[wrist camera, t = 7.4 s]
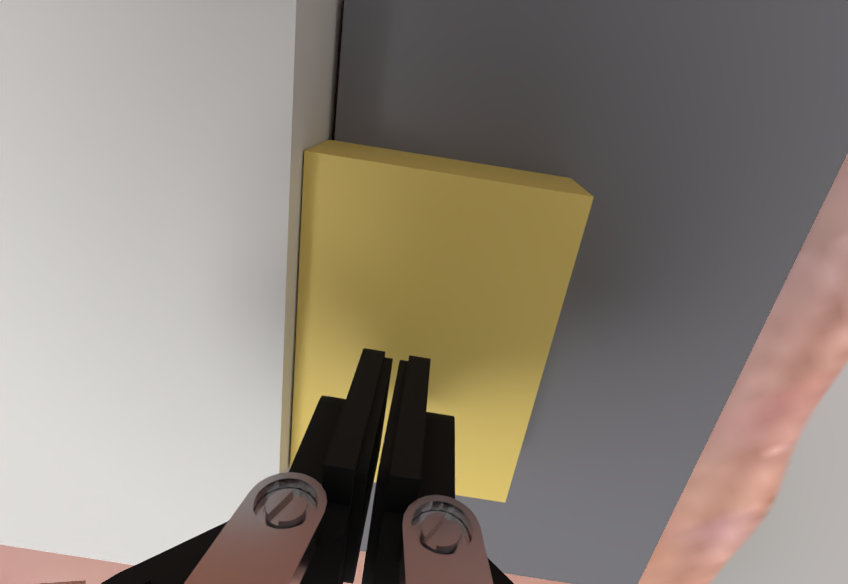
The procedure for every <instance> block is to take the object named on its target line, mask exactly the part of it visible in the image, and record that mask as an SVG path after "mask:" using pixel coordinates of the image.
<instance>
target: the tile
mask: <svg viewBox="0 0 848 584" xmlns="http://www.w3.org/2000/svg"><path fill="white" fill-rule="evenodd" d="M593 198H594V197H593V196H592V195H591V194H590V193H589V192H587V191H586V190H585V189H584V188H582V187H581V186H580V185H579V184H578V183H576V182H575V181H574V180H573V179H571V178H568V177H561V176H555V175H549V174H543V173H536V172H530V171H524V170H517V169H511V168H505V167H499V166H492V165H486V164H480V163H473V162H467V161H461V160H455V159H448V158H442V157H436V156H429V155H423V154H417V153H411V152H404V151H398V150H392V149H385V148H379V147H373V146H366V145H360V144H354V143H348V142H341V141H335V140H327V141H325V142H323V143H320V144H318V145H316V146H314V147H312V148H309V149H307V150H305V151H304V168H303V191H302V213H301V235H300V257H299V279H298V301H297V323H296V346H295V368H294V390H293V412H292V434H291V456H290V468H291V465H292V463H293V461H294V458H295V456H296V453H297V451H298V449H299V446H300V444H301V442H302V439H303V437H304V435H305V432H306V430H307V428H308V425H309V423H310V420H311V418H312V416H313V413H314V411H315V409H316V406H317V404H318V402H319V400H320V398H321V396H322V395H323V396H330V397H336V398H342V399H346V398H347V395H348V392H349V389H350V386H351V383H352V380H353V377H354V374H355V371H356V368H357V366H358V363H359V360H360V357H361V354H362V351H363V348H366V349H373V350H379V351H385V357H386V358H392V359H393V362H392V369H391V376H390V383H389V390H388V397H387V404H386V411H385V418H384V425H383V432H382V439H381V446H380V452H379V458H378V463H377V468H376V473H375V478H374V482H375V483H376V481H377V475H378V469H379V463H380V458H381V453H382V448H383V443H384V438H385V432H386V427H387V422H388V417H389V412H390V407H391V402H392V397H393V392H394V386H395V381H396V376H397V371H398V366H399V361H400V360H405V361H408V360H409V355H411V356H417V357H423V358H430V359H431V361H430V373H429V385H428V397H427V409H426V412H431V413H438V414H444V415H450V416H454V417H455V495H459V496H466V497H472V498H478V499H485V500H491V501H498V502H504V503H505V502H506V498H507V495H508V492H509V488H510V485H511V481H512V478H513V474H514V471H515V467H516V464H517V460H518V457H519V454H520V450H521V447H522V443H523V440H524V436H525V433H526V429H527V426H528V422H529V419H530V416H531V412H532V409H533V405H534V402H535V398H536V395H537V391H538V388H539V385H540V381H541V378H542V374H543V371H544V367H545V364H546V360H547V357H548V353H549V350H550V347H551V343H552V340H553V336H554V333H555V329H556V326H557V322H558V319H559V315H560V312H561V309H562V305H563V302H564V298H565V295H566V291H567V288H568V284H569V281H570V277H571V274H572V271H573V267H574V264H575V260H576V257H577V253H578V250H579V246H580V243H581V240H582V236H583V233H584V229H585V226H586V222H587V219H588V215H589V212H590V208H591V205H592V202H593Z"/></svg>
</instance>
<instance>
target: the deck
mask: <svg viewBox="0 0 848 584" xmlns="http://www.w3.org/2000/svg"><path fill="white" fill-rule="evenodd" d="M341 5H342V0H0V545H7V546H13V547H20V548H26V549H33V550H39V551H46V552H52V553H59V554H65V555H71V556H78V557H84V558H91V559H97V560H104V561H110V562H117V563H123V564H130V565H137V564H139V563H141V562H143V561H145V560H147V559H149V558H151V557H154V556H156V555H158V554H160V553H162V552H164V551H166V550H168V549H170V548H172V547H175V546H177V545H179V544H181V543H183V542H185V541H187V540H189V539H191V538H193V537H196V536H198V535H200V534H202V533H204V532H206V531H208V530H210V529H212V528H214V527H217V526H219V525H221V524H223V523H225V522H227V521H229V520H230V518H231V517H232V515H233V514H234V513H235V511H236V510H237V508H238V507H239V506H240V504H241V503H242V501H243V500H244V499H245V497H246V496H247V494H248V493H249V492H250V491H251V489H252V488H253V487H254V486H255V485H256V484H257V483H259V482H260V481H262V480H264V479H265V478H267V477H269V476H272V475H275V474H279V473H287V472H289V470H290V456H291V434H292V412H293V390H294V368H295V346H296V323H297V301H298V279H299V257H300V235H301V213H302V191H303V168H304V151H305V150H307V149H309V148H312V147H314V146H316V145H318V144H320V143H323V142H325V141H327V140H332V135H333V120H334V106H335V91H336V77H337V62H338V48H339V33H340V19H341Z"/></svg>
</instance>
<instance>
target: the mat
mask: <svg viewBox="0 0 848 584" xmlns="http://www.w3.org/2000/svg"><path fill="white" fill-rule="evenodd" d="M334 140H335V141H341V142H348V143H354V144H360V145H366V146H373V147H379V148H385V149H392V150H398V151H404V152H411V153H417V154H423V155H429V156H436V157H442V158H448V159H455V160H461V161H467V162H473V163H480V164H486V165H492V166H499V167H505V168H511V169H517V170H524V171H530V172H536V173H543V174H549V175H555V176H561V177H568V178H571V179H573V180H574V181H575V182H576V183H578V184H579V185H580V186H581V187H582V188H584V189H585V190H586V191H587V192H589V193H590V194H591V195H592V196H593V197H594V198H593V202H592V205H591V208H590V212H589V215H588V219H587V222H586V226H585V229H584V233H583V236H582V240H581V243H580V246H579V250H578V253H577V257H576V260H575V264H574V267H573V271H572V274H571V277H570V281H569V284H568V288H567V291H566V295H565V298H564V302H563V305H562V309H561V312H560V315H559V319H558V322H557V326H556V329H555V333H554V336H553V340H552V343H551V347H550V350H549V353H548V357H547V360H546V364H545V367H544V371H543V374H542V378H541V381H540V385H539V388H538V391H537V395H536V398H535V402H534V405H533V409H532V412H531V416H530V419H529V422H528V426H527V429H526V433H525V436H524V440H523V443H522V447H521V450H520V454H519V457H518V460H517V464H516V467H515V471H514V474H513V478H512V481H511V485H510V488H509V492H508V495H507V498H506V502H505V503H504V502H498V501H491V500H485V499H478V498H472V497H466V496H459V495H455V499H456V500H458V501H460V502H461V503H463V504H464V505H465V506H467V507H468V508H469V509H470V510H471V511H472V512H473V514H474V515H475V516H476V518H477V520H478V523H479V525H480V527H481V532H482V536H483V541H484V545H485V549H486V554H487V557H488V558H489V559H490V560H491V561H492V562H493V563H494V564H495V565H496V566H497V567H498V568H499V569H500V570H501V571H502V572H503V573H508V574H514V575H521V576H527V577H533V578H540V579H546V580H553V581H559V582H566V583H572V584H638V582H639V580H640V578H641V576H642V574H643V572H644V570H645V568H646V566H647V564H648V562H649V560H650V558H651V556H652V554H653V552H654V549H655V547H656V545H657V543H658V541H659V539H660V537H661V535H662V533H663V531H664V529H665V527H666V525H667V523H668V521H669V519H670V517H671V515H672V512H673V510H674V508H675V506H676V504H677V502H678V500H679V498H680V496H681V494H682V492H683V490H684V488H685V486H686V484H687V482H688V480H689V478H690V476H691V473H692V471H693V469H694V467H695V465H696V463H697V461H698V459H699V457H700V455H701V453H702V451H703V449H704V447H705V445H706V443H707V441H708V439H709V436H710V434H711V432H712V430H713V428H714V426H715V424H716V422H717V420H718V418H719V416H720V414H721V412H722V410H723V408H724V406H725V404H726V402H727V400H728V397H729V395H730V393H731V391H732V389H733V387H734V385H735V383H736V381H737V379H738V377H739V375H740V373H741V371H742V369H743V367H744V365H745V363H746V360H747V358H748V356H749V354H750V352H751V350H752V348H753V346H754V344H755V342H756V340H757V338H758V336H759V334H760V332H761V330H762V328H763V326H764V323H765V321H766V319H767V317H768V315H769V313H770V311H771V309H772V307H773V305H774V303H775V301H776V299H777V297H778V295H779V293H780V291H781V289H782V287H783V284H784V282H785V280H786V278H787V276H788V274H789V272H790V270H791V268H792V266H793V264H794V262H795V260H796V258H797V256H798V254H799V252H800V250H801V247H802V245H803V243H804V241H805V239H806V237H807V235H808V233H809V231H810V229H811V227H812V225H813V223H814V221H815V219H816V217H817V215H818V213H819V211H820V208H821V206H822V204H823V202H824V200H825V198H826V196H827V194H828V192H829V190H830V188H831V186H832V184H833V182H834V180H835V178H836V176H837V174H838V171H839V169H840V167H841V165H842V163H843V161H844V159H845V157H846V155H847V153H848V0H344V13H343V27H342V41H341V55H340V69H339V83H338V97H337V111H336V125H335V139H334ZM375 487H376V483H375V482H374V483H373V488H372V493H371V498H370V503H369V507H368V512H367V517H366V522H365V527H364V532H363V537H362V542H361V547H360V551H366V550H367V543H368V536H369V529H370V522H371V515H372V508H373V501H374V494H375Z"/></svg>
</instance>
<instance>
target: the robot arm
mask: <svg viewBox="0 0 848 584" xmlns="http://www.w3.org/2000/svg"><path fill="white" fill-rule="evenodd" d="M430 361H431V359H430V358H423V357H417V356H411V355H409V360H408V361H405V360H400V361H399V366H398V371H397V376H396V381H395V386H394V392H393V397H392V402H391V407H390V412H389V417H388V422H387V427H386V432H385V438H384V443H383V448H382V453H381V458H380V463H379V469H378V475H377V481H376V487H375V494H374V501H373V508H372V515H371V522H370V529H369V536H368V543H367V550H366V557H365V564H364V571H363V578H362V584H514V583H513V582H512V581H511V580H510V579H509V578H508V577H507V576H506V575H505V574H504V573H503V572H502V571H501V570H500V569H499V568H498V567H497V566H496V565H495V564H494V563H493V562H492V561H491V560H490V559H489V558H488V557H487V554H486V549H485V545H484V541H483V536H482V532H481V527H480V525H479V523H478V520H477V518H476V516H475V515H474V514H473V512H472V511H471V510H470V509H469V508H468V507H467V506H465V505H464V504H463V503H461V502H460V501H458V500H456V499H455V417H454V416H450V415H444V414H438V413H431V412H426V409H427V397H428V385H429V373H430ZM392 362H393V359H392V358H386V357H385V351H379V350H373V349H366V348H363V351H362V354H361V357H360V360H359V363H358V366H357V368H356V371H355V374H354V377H353V380H352V383H351V386H350V389H349V392H348V395H347V398H346V399H342V398H336V397H330V396H323V395H322V396H321V398H320V400H319V402H318V404H317V406H316V409H315V411H314V413H313V416H312V418H311V420H310V423H309V425H308V428H307V430H306V432H305V435H304V437H303V439H302V442H301V444H300V446H299V449H298V451H297V453H296V456H295V458H294V461H293V463H292V465H291V468H290V470H289V472H287V473H279V474H275V475H272V476H269V477H267V478H265V479H264V480H262V481H260V482H259V483H257V484H256V485H255V486H254V487H253V488H252V489H251V491H250V492H249V493H248V494H247V496H246V497H245V499H244V500H243V501H242V503H241V504H240V506H239V507H238V508H237V510H236V511H235V513H234V514H233V515H232V517H231V518H230V520H229V521H227V522H225V523H223V524H221V525H219V526H217V527H214V528H212V529H210V530H208V531H206V532H204V533H202V534H200V535H198V536H196V537H193V538H191V539H189V540H187V541H185V542H183V543H181V544H179V545H177V546H175V547H172V548H170V549H168V550H166V551H164V552H162V553H160V554H158V555H156V556H154V557H151V558H149V559H147V560H145V561H143V562H141V563H139V564H137V565H135V566H133V567H130V568H128V569H126V570H124V571H122V572H120V573H118V574H116V575H114V576H113V577H111V578H110V579H108V580H106V581H105V582H103V583H101V584H343V582H346V583H353V582H354V577H355V572H356V567H357V562H358V557H359V552H360V547H361V542H362V537H363V532H364V527H365V522H366V517H367V512H368V507H369V503H370V498H371V493H372V488H373V483H374V478H375V473H376V468H377V463H378V458H379V452H380V446H381V439H382V432H383V425H384V418H385V411H386V404H387V397H388V390H389V383H390V376H391V369H392ZM42 584H86V581H71V582H57V583H42Z"/></svg>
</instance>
